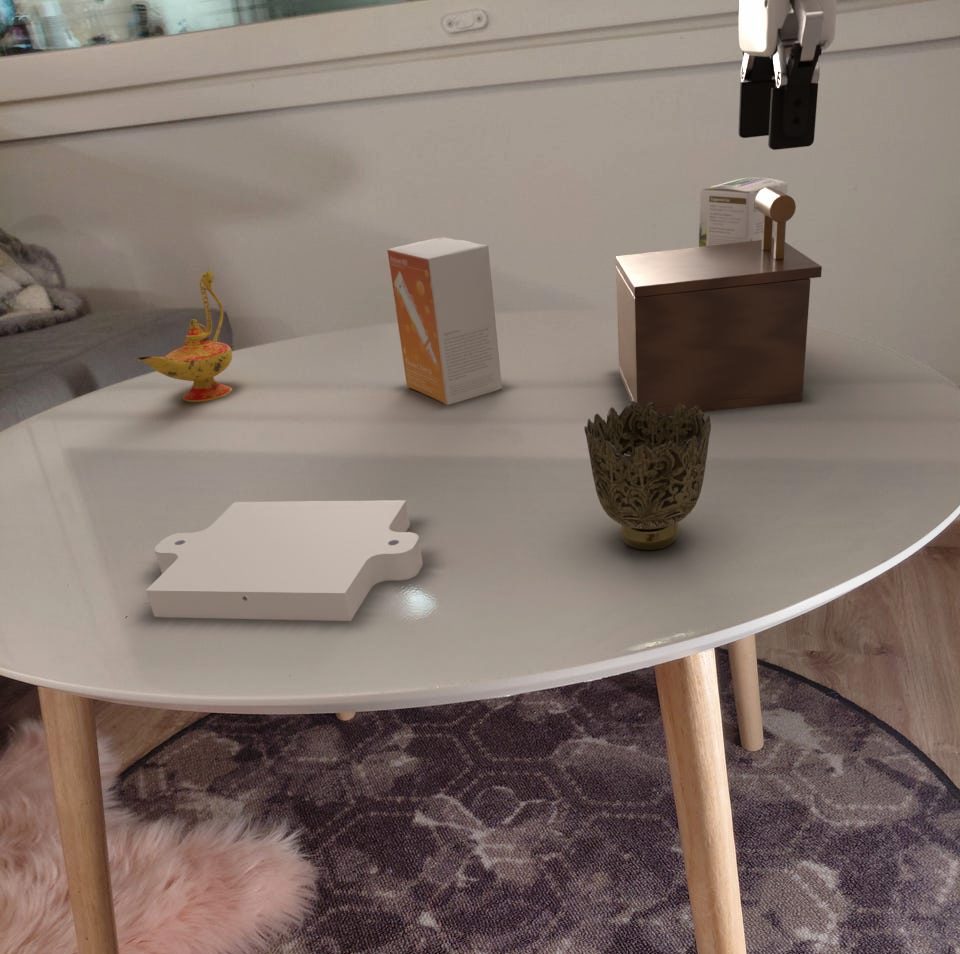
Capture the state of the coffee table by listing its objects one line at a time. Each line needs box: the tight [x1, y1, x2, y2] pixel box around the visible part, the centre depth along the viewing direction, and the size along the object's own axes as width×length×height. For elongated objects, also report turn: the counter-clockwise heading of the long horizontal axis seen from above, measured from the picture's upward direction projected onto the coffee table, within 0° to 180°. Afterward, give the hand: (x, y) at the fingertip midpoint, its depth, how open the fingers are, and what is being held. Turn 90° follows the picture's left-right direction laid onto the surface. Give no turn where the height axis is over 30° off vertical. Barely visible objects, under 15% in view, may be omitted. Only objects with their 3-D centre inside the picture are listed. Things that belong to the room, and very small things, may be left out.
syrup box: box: [698, 177, 788, 247], centre depth 93 cm, size 6×6×14 cm
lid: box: [615, 187, 823, 297], centre depth 80 cm, size 14×13×6 cm
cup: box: [583, 401, 712, 551], centre depth 60 cm, size 8×7×8 cm
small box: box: [387, 237, 503, 406], centre depth 90 cm, size 8×6×13 cm
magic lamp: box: [133, 269, 233, 403], centre depth 97 cm, size 7×18×11 cm, turn 167°
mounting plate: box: [145, 499, 424, 622], centre depth 64 cm, size 18×13×2 cm
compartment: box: [615, 265, 812, 416], centre depth 84 cm, size 14×13×10 cm
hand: (773, 141), depth 76 cm, fingers open, 9 cm apart
